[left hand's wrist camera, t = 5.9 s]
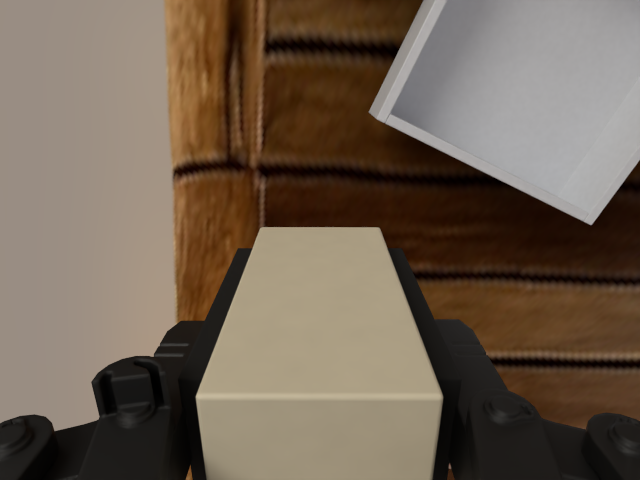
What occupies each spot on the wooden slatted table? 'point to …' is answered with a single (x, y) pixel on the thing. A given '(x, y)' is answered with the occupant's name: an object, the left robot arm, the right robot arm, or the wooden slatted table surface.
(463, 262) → the wooden slatted table surface
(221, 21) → the wooden slatted table surface
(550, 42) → the tray
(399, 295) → the block
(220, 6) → the wooden slatted table surface
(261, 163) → the wooden slatted table surface
